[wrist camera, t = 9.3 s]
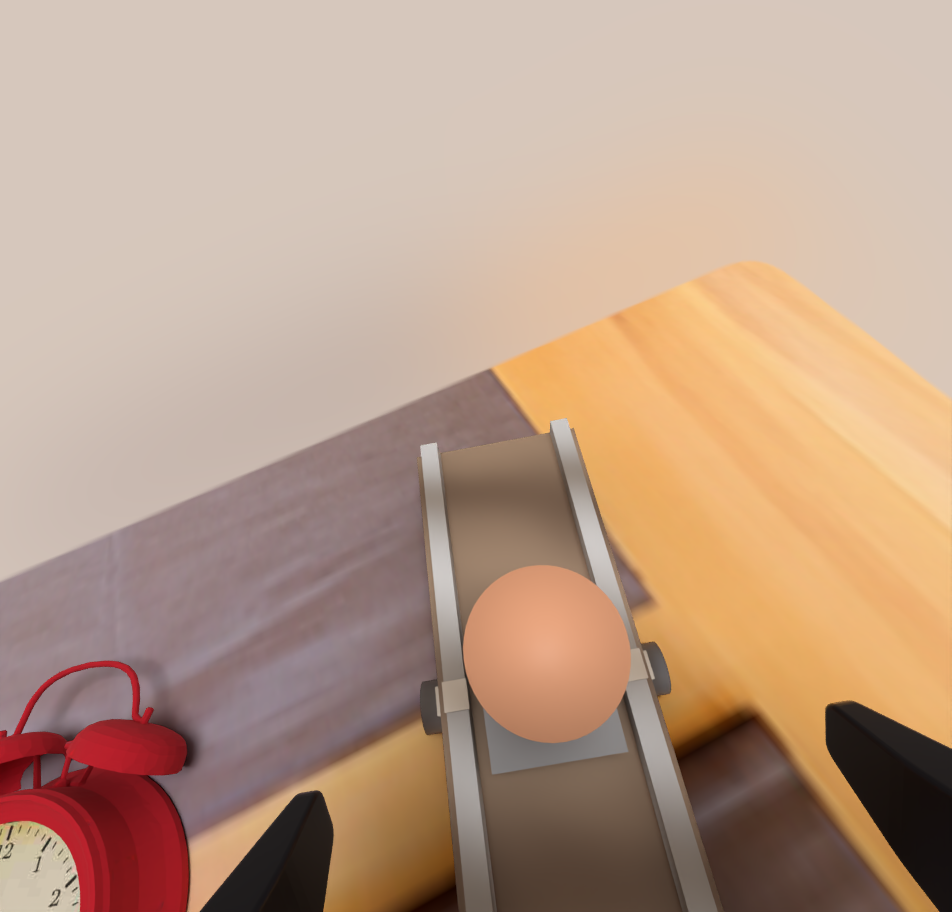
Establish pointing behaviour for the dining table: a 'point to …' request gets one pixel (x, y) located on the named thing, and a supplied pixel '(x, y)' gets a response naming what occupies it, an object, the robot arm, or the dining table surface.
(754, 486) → the dining table surface
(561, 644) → the rider
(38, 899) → the alarm clock
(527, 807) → the brown piece
